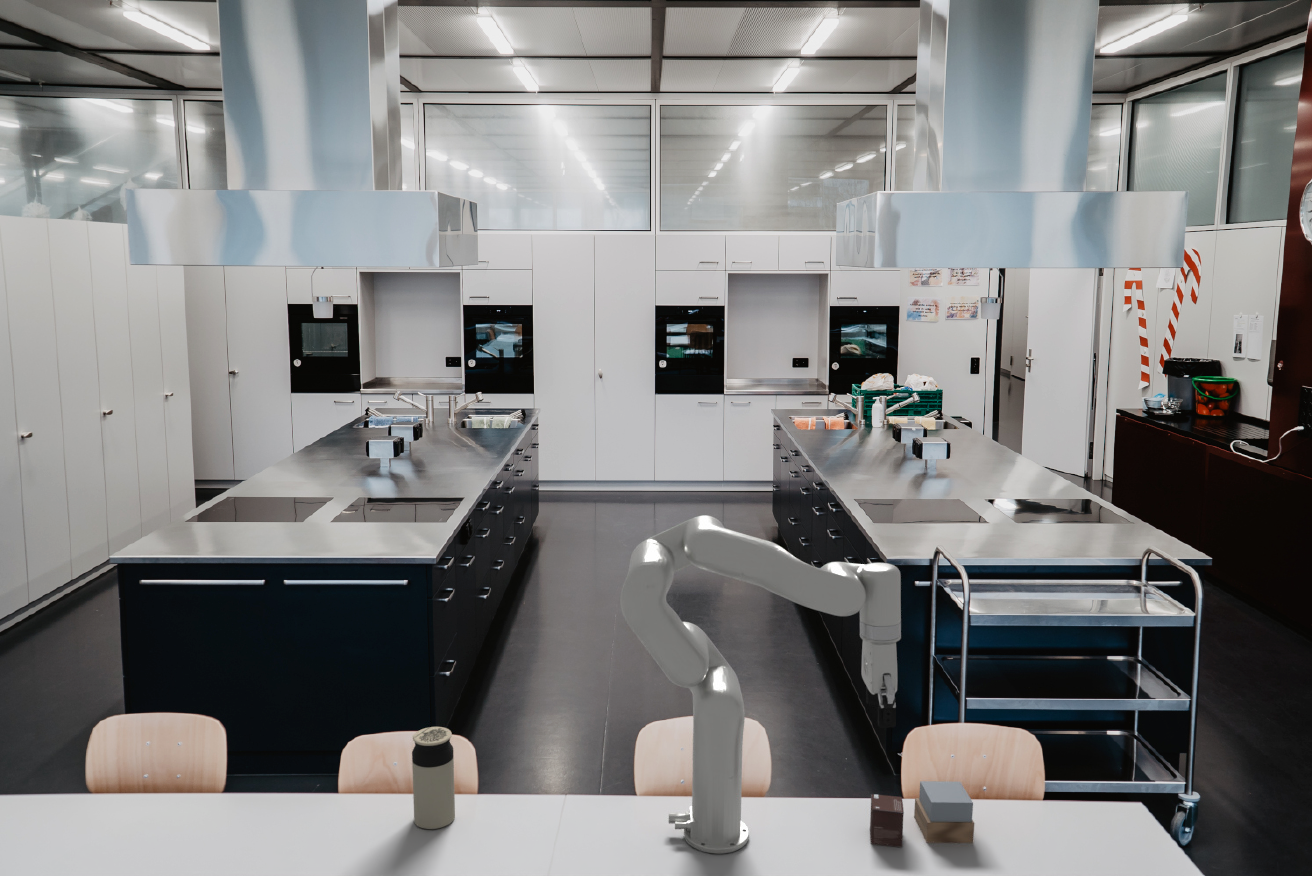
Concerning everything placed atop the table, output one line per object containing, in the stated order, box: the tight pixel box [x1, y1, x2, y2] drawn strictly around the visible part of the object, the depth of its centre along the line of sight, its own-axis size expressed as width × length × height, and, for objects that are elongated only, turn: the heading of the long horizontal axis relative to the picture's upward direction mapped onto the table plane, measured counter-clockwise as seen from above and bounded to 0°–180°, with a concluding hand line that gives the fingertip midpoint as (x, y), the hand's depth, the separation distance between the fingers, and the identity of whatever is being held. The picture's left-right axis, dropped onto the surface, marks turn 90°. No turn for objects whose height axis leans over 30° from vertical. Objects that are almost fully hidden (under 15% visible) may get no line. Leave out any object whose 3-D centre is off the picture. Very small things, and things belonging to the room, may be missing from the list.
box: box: [869, 793, 905, 848], centre depth 184 cm, size 6×6×7 cm
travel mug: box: [411, 726, 456, 830], centre depth 189 cm, size 8×8×18 cm
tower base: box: [913, 797, 975, 844], centre depth 187 cm, size 9×9×4 cm
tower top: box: [918, 780, 974, 822], centre depth 187 cm, size 8×8×4 cm
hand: (880, 715), depth 181 cm, fingers open, 9 cm apart
